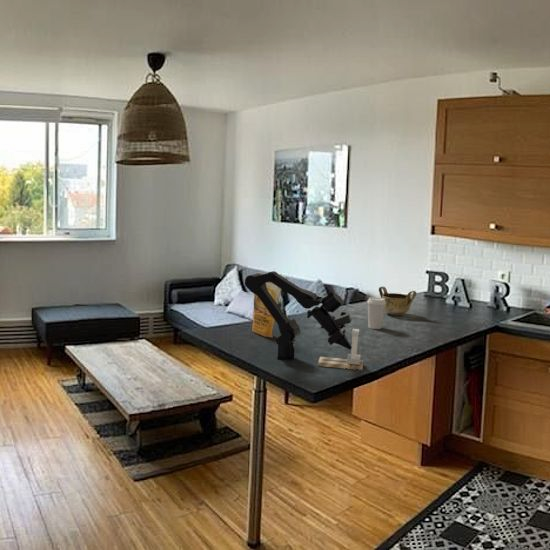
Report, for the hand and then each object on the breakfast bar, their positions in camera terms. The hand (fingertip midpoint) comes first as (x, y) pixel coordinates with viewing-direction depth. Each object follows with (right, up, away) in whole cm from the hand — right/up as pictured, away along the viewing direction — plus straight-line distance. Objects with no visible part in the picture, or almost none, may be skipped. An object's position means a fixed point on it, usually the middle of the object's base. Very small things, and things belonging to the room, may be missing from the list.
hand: (350, 348), depth 243 cm
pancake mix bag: (-36, +1, +46) cm, 58 cm away
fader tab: (+1, -5, +1) cm, 5 cm away
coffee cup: (+21, +2, +69) cm, 72 cm away
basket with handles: (+38, +7, +103) cm, 110 cm away
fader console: (-4, -7, +2) cm, 8 cm away
